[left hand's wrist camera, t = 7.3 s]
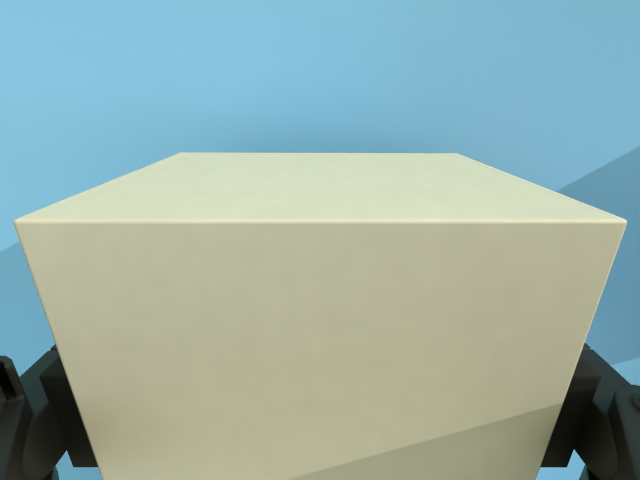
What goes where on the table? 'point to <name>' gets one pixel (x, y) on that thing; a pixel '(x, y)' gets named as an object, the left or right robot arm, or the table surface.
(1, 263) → the table surface
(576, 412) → the left robot arm
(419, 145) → the table surface
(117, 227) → the thick block
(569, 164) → the table surface
